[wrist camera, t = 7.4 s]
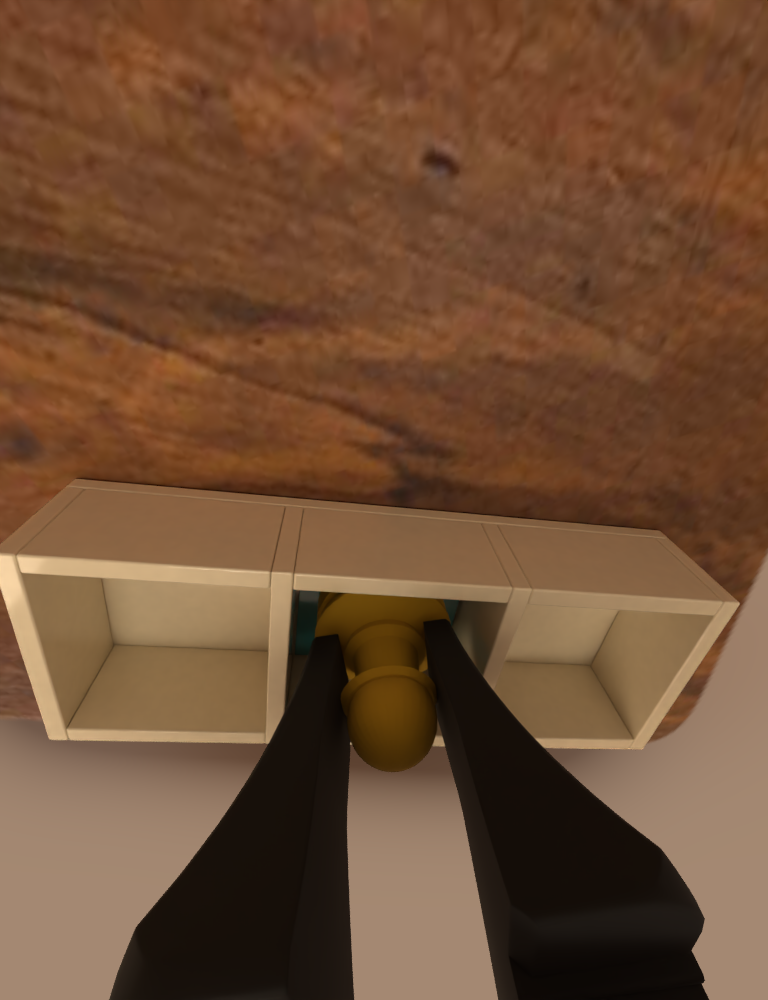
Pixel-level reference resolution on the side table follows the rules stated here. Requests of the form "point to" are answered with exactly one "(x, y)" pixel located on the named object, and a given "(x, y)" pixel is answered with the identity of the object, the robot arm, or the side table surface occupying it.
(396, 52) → the side table surface
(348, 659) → the chess piece
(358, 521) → the three-compartment organizer
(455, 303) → the side table surface
